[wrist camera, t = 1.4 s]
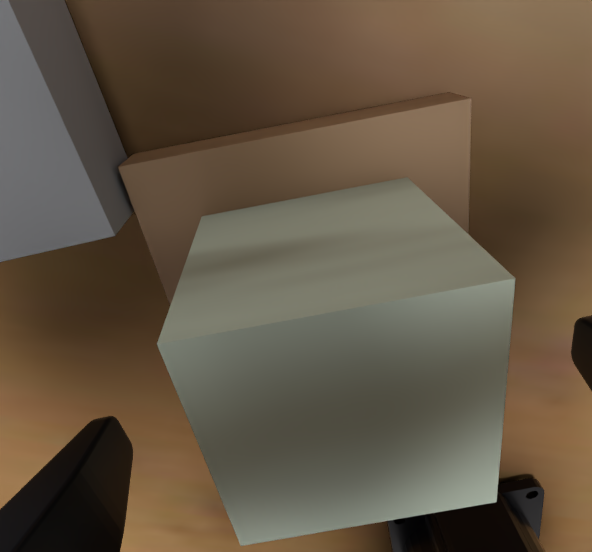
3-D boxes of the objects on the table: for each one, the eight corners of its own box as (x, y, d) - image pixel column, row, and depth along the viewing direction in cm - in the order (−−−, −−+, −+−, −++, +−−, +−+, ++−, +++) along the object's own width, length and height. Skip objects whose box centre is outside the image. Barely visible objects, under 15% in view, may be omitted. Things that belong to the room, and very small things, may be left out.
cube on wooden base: (447, 342, 15) (564, 533, 9) (216, 384, 15) (188, 597, 9) (446, 91, 11) (650, 146, 5) (135, 152, 11) (-3, 270, 5)
